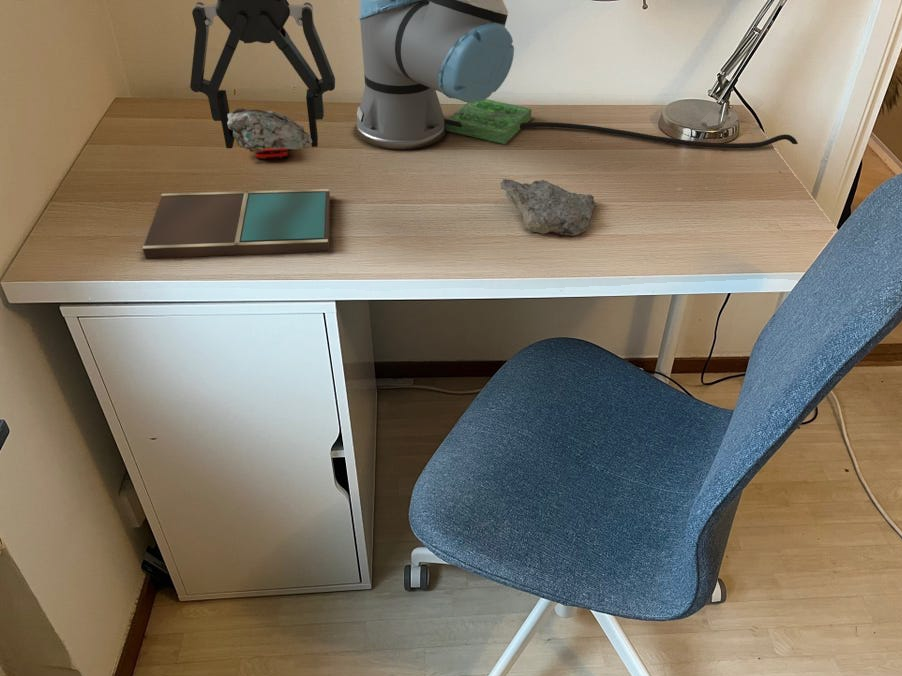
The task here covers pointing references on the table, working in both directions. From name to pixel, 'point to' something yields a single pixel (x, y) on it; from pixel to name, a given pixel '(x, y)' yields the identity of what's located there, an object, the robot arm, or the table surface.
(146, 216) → the table surface
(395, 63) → the robot arm
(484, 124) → the marbled green block
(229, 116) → the mineral specimen
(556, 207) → the rock
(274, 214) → the board
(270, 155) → the toy car
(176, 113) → the table surface
